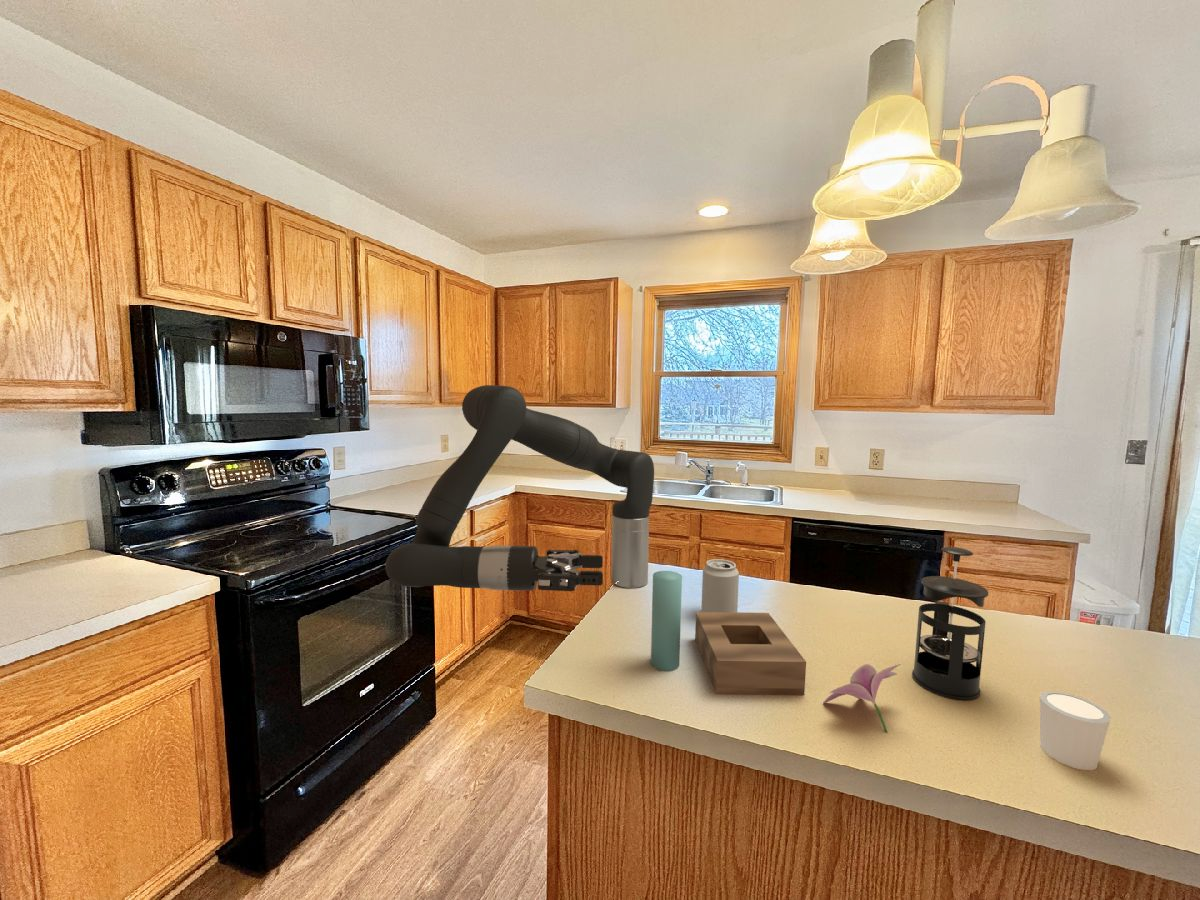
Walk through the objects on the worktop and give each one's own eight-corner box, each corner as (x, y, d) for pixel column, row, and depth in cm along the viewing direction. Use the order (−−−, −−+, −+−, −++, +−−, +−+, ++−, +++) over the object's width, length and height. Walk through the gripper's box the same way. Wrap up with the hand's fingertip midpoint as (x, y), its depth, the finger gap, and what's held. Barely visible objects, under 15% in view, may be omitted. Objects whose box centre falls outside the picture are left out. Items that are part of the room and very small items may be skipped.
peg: (649, 655, 91) (651, 570, 90) (677, 656, 91) (679, 570, 90) (652, 670, 87) (654, 580, 85) (681, 671, 87) (684, 581, 85)
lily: (908, 713, 77) (882, 648, 81) (940, 730, 66) (909, 654, 70) (829, 730, 79) (807, 665, 82) (848, 750, 68) (821, 674, 71)
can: (741, 625, 104) (743, 569, 103) (704, 624, 104) (706, 568, 103) (732, 610, 112) (734, 557, 110) (698, 609, 112) (700, 556, 110)
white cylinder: (1024, 733, 71) (1029, 686, 71) (1083, 743, 70) (1089, 695, 69) (1051, 767, 65) (1057, 716, 64) (1118, 779, 63) (1125, 727, 62)
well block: (695, 639, 98) (695, 611, 97) (767, 639, 98) (768, 612, 97) (716, 693, 80) (717, 660, 79) (804, 694, 80) (806, 661, 79)
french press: (990, 708, 77) (1005, 563, 74) (919, 695, 80) (931, 555, 78) (967, 670, 88) (979, 541, 85) (905, 659, 91) (915, 535, 89)
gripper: (500, 559, 80) (603, 561, 80) (515, 535, 94) (603, 537, 94) (500, 605, 80) (602, 607, 80) (515, 574, 94) (602, 576, 94)
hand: (602, 569), depth 87 cm, fingers open, 8 cm apart
